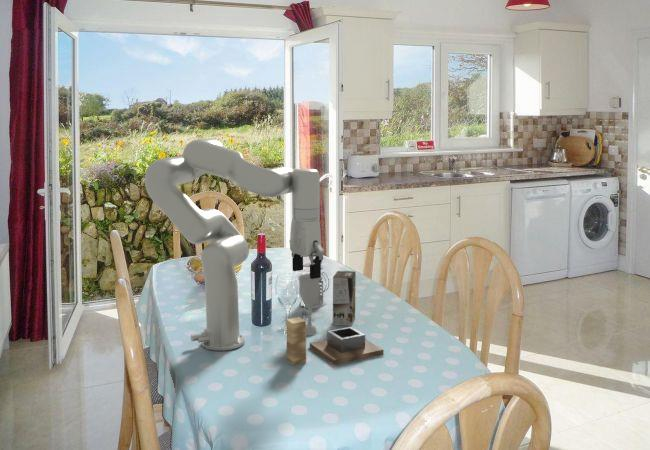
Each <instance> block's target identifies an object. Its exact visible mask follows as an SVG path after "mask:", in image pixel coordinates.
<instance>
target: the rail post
mask: <svg viewBox="0 0 650 450" xmlns="http://www.w3.org/2000/svg"><path fill="white" fill-rule="evenodd" d="M285 320H286V323H285V324H286V326H285V327H286V328H285V329H286V330H285V331H286V361H287V362H288V363H289V364H291V366H297V365H301V364H306V363H307V335H306V324H307V322H306V320H305V319H303V318H301V317H299V316H298V317H292V318H287V319H285Z"/></svg>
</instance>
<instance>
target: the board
mask: <svg viewBox="0 0 650 450" xmlns="http://www.w3.org/2000/svg"><path fill="white" fill-rule="evenodd" d="M309 348H310V349H311V350H312V351H314V352H315V353H316V354H318V355H319V356H321V357H322V358H324V359H325V360H327V361H328V362H330V363H331V364H332V365H333V366H337V365H338V366H339V365H343V364H348V363H352V362H357V361H361V360H366V359H370V358H374V357H379V356H382V355H383V356H384V348H382V347H380V346H378V345H377V344H375V343H373V342H371V341H369V340H368V339H366V338H365V348H363V349H358V350H354V351H349V352H344V353H340V352H338V351H337V350H335V349H334V348H332V347H331V346H329V345H328V344H327V339H323V340H322V339H321V340H318V341H317V340H316V341H312V342H309Z"/></svg>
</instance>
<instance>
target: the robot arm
mask: <svg viewBox="0 0 650 450" xmlns="http://www.w3.org/2000/svg"><path fill="white" fill-rule="evenodd" d="M205 174H209V175H213V176H215V177H219V178H221V179H224V180H227V181H230V182H231V183H232V184H234V185H235V186H237V187H239V188H241V189H242V190H244V191H247V192H250V193H254V194H256V195H258V196H259V195H260V196H262V197H266V198H278V197H279V196H281V195H287V194H290V193H291V194H292V195H291V196H292V198H291V200H292V205H291V206H292V218H291V224H290V235H289V249H290V251H291V257H292V260H291V261H292V271H293V272H298V271H304V270H303V265H304V258H309V261H310V262H311V264H310V271H309V274H310V278H311V279H315V278H320V277H322V274H321V273H322V270H321V265H323V264H322V263H323V260H324V255H325V249H324V248H323V247H322V234H321V224H320V218H321V216H320V215H321V213H320V212H321V211H320V210H321V209H320V207H321V205H320V203H321V202H320V201H321V195H320V193H321V192H320V188H321V187H320V185H321V183H320V182H321V181H320V178H321V175H320V172H319V170H317V169H315V168H294V167H288V166H280V167H274V168H265V167H262V166H259V165H256V164H254V163H251V162H249V161H247V160H245V159H244V155H243V153H241V152H240V151H238V150H234V149H231V148H228V147H225V146H224V145H223V143H221V141H218V140H217V139H215V138H201V139H199V138H198V139H194V140H191V141H189V142H188V143H187V144H186V145H185V146H184V149H183V153H182V154H180V155H176V156H168V157H163V158H158V159H156V160H154V161H152V162H151V163H150V164H149V165H148V167H147V168H146V170H145V173H144V186H145V190H146V192H147V194H148V197H149V199H151V200H152V201H153V203H154V204H155V205H156V206H157V207H158V208H159V210H161V211H162V213H163V214H165V215H166V217H167V218H168V219H169V221H170V222H171V223H172V225H174V226H175V228H176V229H177V230H178V231H179V232H180V233H181V235H182V236H183V237H184V239H186V240H187V241H188V242H189V243H190V244H193V245H201V244H204V243H207V242H209V243H208V244H207V245H206V246H205V247H204V248H203V250H202V252H201V255H200V256H201V257H200V259H201V260H200V263H201V267H202V274H203V278H204V289H205V290H204V291H205V292H204V293H205V311H206V312H205V313H206V315H205V316H206V317H205V319H206V328H203V331H202V332H201V333H199V334H198V333H196V334H191V335H190V340H191V342H197V343H199V344H200V343H201V345H202V348H205V349H207V350H211V351H218V352H219V351H220V352H221V351H231V350H235V349H238V348H240V347H242V346H243V345H244V344H245V337H244V336H243V335H241V334H240V322H239V321H240V317H239V316H240V315H239V313H240V312H239V287H238V286H239V285H238V284H239V283H238V279H237V275H236V272H235V268H236V267H237V266H240V265H242V264H243V263H244V262H246V260H247V259H248V258H249V254H250V247H249V244H248V242H247V240H246V238H245V237H244V236H243V235H242V233H241V232H240V231H239V230H238V229H237V228H236V226H235V225H234V224H233V223H232V222H231V221H230V219H229V218H227V217H226V215H225V214H224V213H223V212H221V211H220V210H218V209H215V208H212V207H208V208H203V209H200V208H199V207H198V205H196V204H195V203H194V201H193V200H192V199H191V198H190V197H189V196H188V195H187V194H185V193H184V191H181V190H180V189H179V188H178V187H177V186H179V185H183V184H184V185H185V184H188V183H190V182H192V181H194V180H197V179H198V178H199V177H202V176H203V175H205ZM310 262H309V263H310Z"/></svg>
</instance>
